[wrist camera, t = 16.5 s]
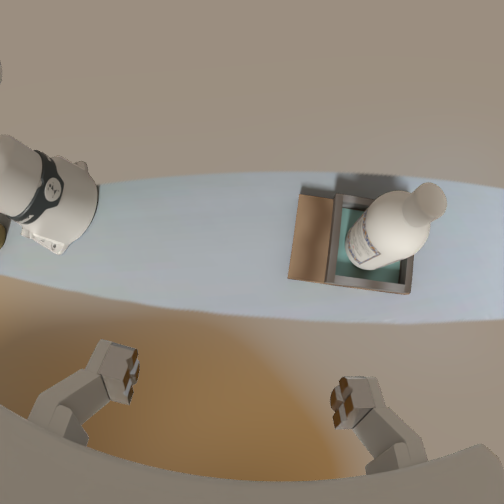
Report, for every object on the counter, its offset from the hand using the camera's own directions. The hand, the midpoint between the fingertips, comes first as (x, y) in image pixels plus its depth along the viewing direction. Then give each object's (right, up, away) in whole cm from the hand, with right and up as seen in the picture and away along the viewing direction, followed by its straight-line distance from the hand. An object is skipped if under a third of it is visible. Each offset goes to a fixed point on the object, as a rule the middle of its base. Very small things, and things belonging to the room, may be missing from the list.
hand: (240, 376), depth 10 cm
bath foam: (+16, +6, +28) cm, 33 cm away
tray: (+15, +6, +30) cm, 35 cm away
